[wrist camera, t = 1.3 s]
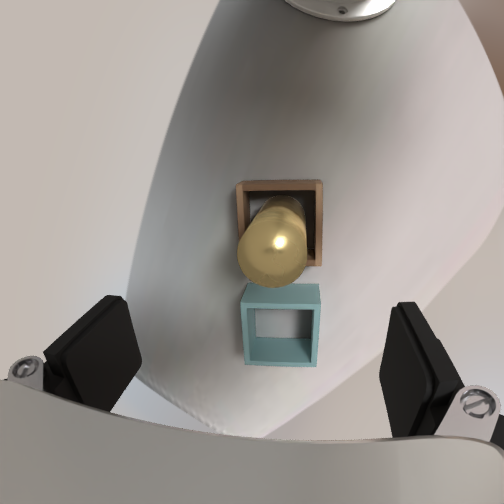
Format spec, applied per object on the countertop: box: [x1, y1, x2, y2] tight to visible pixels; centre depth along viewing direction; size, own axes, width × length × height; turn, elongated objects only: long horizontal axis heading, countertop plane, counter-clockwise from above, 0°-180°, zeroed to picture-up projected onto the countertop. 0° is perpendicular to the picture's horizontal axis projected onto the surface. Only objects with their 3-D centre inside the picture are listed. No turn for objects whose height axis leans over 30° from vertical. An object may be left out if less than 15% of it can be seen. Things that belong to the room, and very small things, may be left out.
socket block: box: [236, 180, 323, 266], centre depth 26 cm, size 7×7×3 cm
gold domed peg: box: [237, 195, 307, 288], centre depth 23 cm, size 4×4×10 cm
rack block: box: [240, 283, 321, 367], centre depth 28 cm, size 7×7×4 cm
